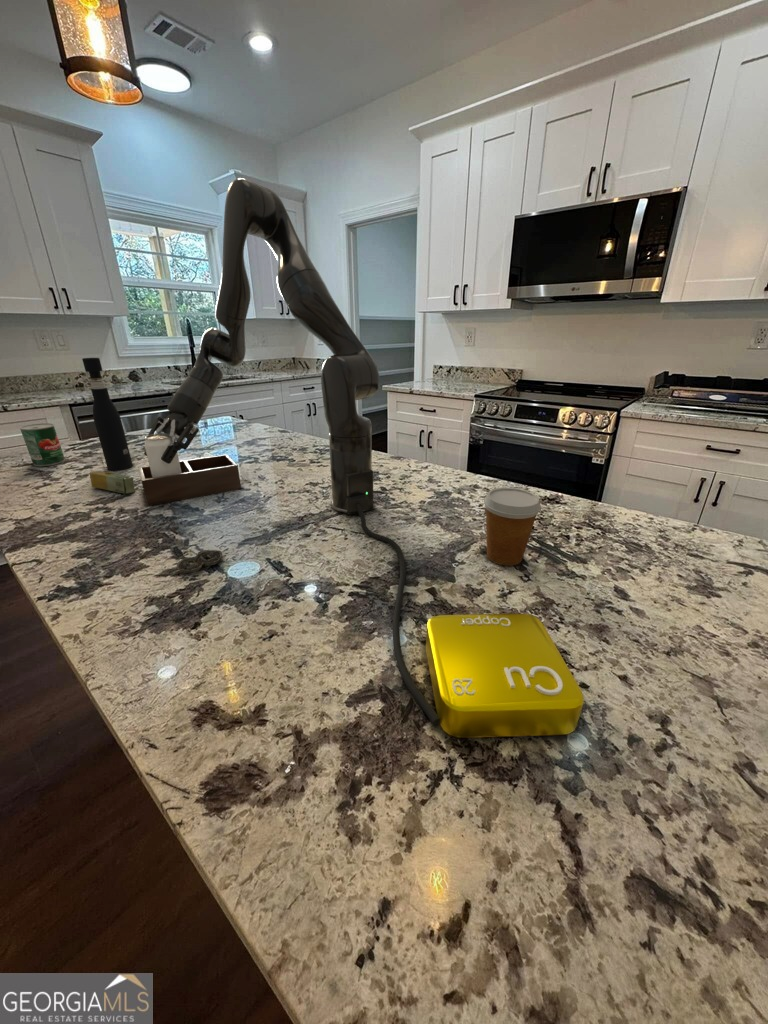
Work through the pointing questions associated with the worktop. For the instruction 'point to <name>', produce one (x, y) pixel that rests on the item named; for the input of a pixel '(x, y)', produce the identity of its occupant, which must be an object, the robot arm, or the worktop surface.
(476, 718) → the element tile
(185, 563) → the corroded twin loop
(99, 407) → the black water bottle
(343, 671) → the worktop surface
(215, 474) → the caddy
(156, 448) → the can
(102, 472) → the medication box
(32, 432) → the canned tomato
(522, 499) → the disposable coffee cup
